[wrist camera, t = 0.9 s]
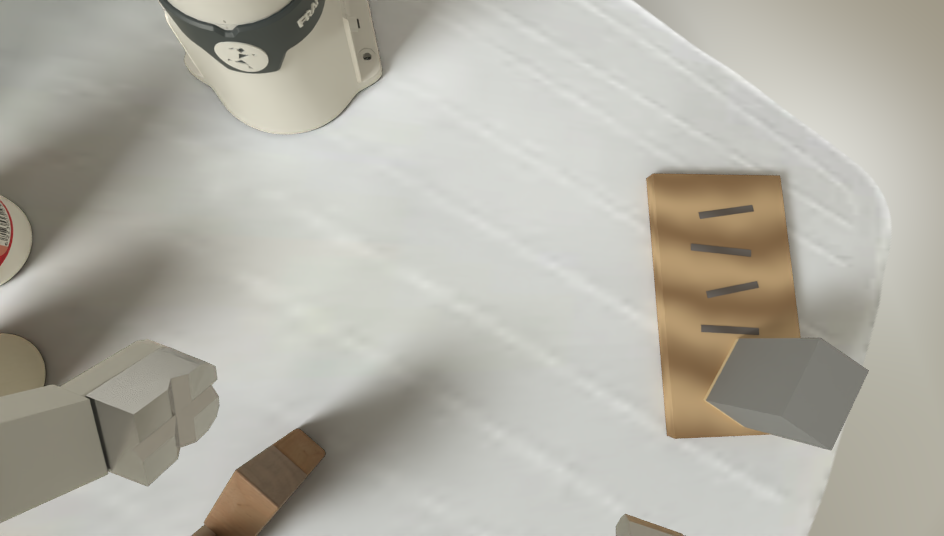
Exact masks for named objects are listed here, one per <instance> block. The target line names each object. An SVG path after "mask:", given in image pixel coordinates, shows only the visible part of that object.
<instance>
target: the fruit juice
mask: <svg viewBox="0 0 944 536" xmlns="http://www.w3.org/2000/svg"><path fill="white" fill-rule="evenodd" d="M31 246H32V230H31V226H30V223H29V221H28V219H27V217H26V215H25V214H24V213H23V211H22V210H21V209H20V208H19V207H18V206H17V205H15V204H14V203H13V202H12V201H10V200H8V199H7V198H5V197H3V196H1V195H0V285H2V284H4V283H5V282H7V281H8V280H10V279H11V278H12V277H13V276H14V275H15V274H16V273H17V272H18V271H19V270H20V269H21V268H22V266H23V265H24V263H25V262H26V260H27V258H28V256H29V253H30V250H31Z"/></svg>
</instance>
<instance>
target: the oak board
mask: <svg viewBox="0 0 944 536" xmlns="http://www.w3.org/2000/svg"><path fill="white" fill-rule="evenodd" d="M646 180H647V192H648V205H649V217H650V230H651V242H652V255H653V267H654V280H655V292H656V305H657V317H658V330H659V342H660V355H661V367H662V380H663V392H664V405H665V417H666V430H667V436H670V437H672V438H675V439H677V438H700V437H722V436H745V435H767V434H769V433H765V432H761V431H757V430H754V429H750V428H746V427H743V426H741V425H739V424H738V423H736V422H735V421H734V420H732V419H731V418H729V417H728V416H726V415H725V414H723V413H722V412H720V411H719V410H717V409H716V408H714V407H713V406H712V405H710V404H709V403H707V402H706V401H704V398H705V396H706V394H707V392H708V390H709V388H710V386H711V385H712V383H713V381H714V379H715V377H716V375H717V373H718V372H719V370H720V368H721V366H722V364H723V362H724V360H725V359H726V357H727V355H728V353H729V351H730V349H731V347H732V346H733V344H734V342H735V340H736V339H737V338H800V330H799V322H798V314H797V306H796V298H795V290H794V282H793V274H792V266H791V258H790V250H789V242H788V234H787V226H786V218H785V210H784V202H783V194H782V186H781V178H780V176H774V175H712V174H652V175H651V176H649V177H648V178H646Z"/></svg>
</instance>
